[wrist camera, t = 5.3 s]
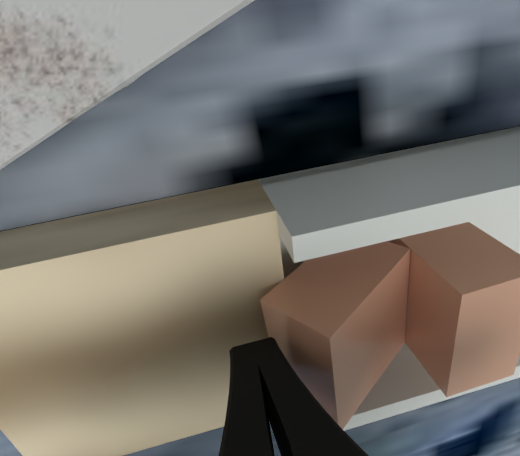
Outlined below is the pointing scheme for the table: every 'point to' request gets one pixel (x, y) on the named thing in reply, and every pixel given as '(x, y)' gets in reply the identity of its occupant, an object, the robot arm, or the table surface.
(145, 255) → the board
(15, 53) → the wrench
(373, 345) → the tile
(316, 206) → the tray
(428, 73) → the table surface
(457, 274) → the tile
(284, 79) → the table surface
